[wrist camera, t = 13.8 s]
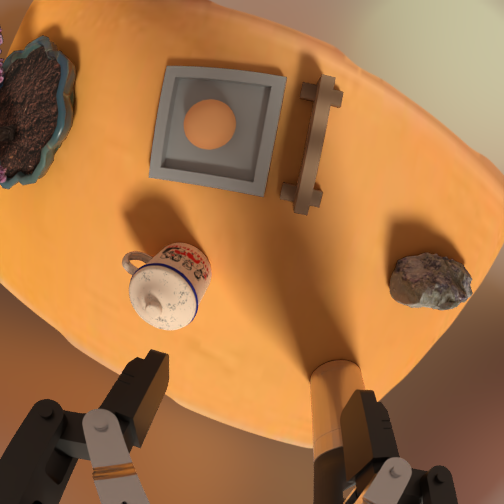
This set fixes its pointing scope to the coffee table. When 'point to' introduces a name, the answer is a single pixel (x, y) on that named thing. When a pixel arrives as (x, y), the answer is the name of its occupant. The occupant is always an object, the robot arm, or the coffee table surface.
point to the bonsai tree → (33, 110)
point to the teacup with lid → (168, 284)
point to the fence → (312, 144)
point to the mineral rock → (430, 282)
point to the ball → (209, 124)
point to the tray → (242, 142)
